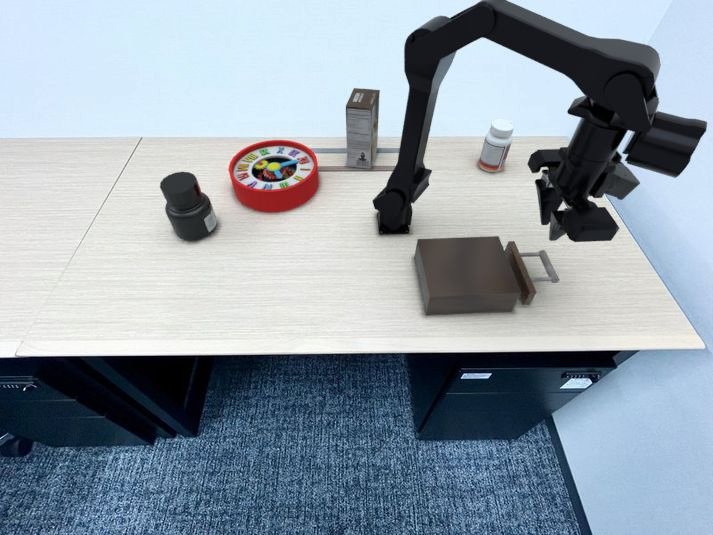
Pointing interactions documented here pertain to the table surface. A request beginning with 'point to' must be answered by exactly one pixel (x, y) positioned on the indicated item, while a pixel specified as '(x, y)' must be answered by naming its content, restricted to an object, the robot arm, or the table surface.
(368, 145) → the coffee box
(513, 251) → the drawer
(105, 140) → the table surface
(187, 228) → the ink bottle
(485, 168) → the pill bottle
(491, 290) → the cabinet
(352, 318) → the table surface
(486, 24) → the robot arm
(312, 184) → the toy clock
